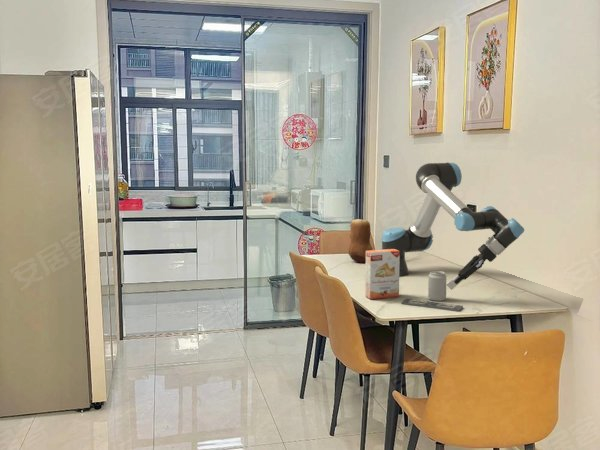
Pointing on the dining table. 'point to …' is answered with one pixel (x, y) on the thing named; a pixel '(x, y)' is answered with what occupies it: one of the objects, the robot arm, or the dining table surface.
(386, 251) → the cracker box
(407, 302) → the panel
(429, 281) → the can
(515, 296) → the dining table surface
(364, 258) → the butternut squash
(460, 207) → the robot arm
